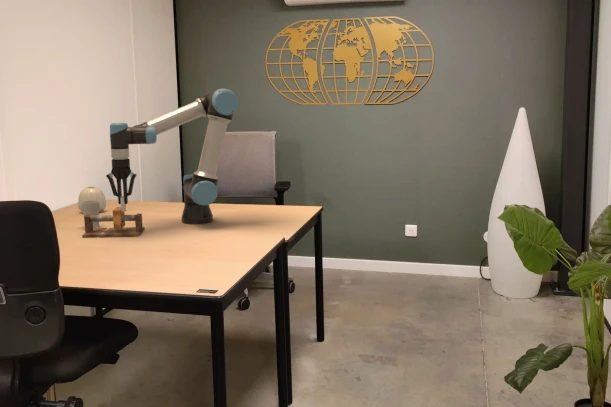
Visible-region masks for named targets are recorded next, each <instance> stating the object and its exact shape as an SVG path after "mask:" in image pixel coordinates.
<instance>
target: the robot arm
mask: <svg viewBox="0 0 611 407" xmlns="http://www.w3.org/2000/svg"><path fill="white" fill-rule="evenodd" d="M238 105H239V100H238V97H237V95H236V93H235V92H234V91H233V90H231V89H227V88H215V89H213V90H211V91H209V92H207V93H205V94H203V95H201V96H199V97H197V98H195V101H192V102H190V103H188V104H186V105H183V106H180V107H177V108H176V109H173V110H171V111H169V112H167V113H164V114H161V115H159V116H157V117H154V118H152V119H150V120H147V121H145V122H142V123H140V124H136V125H134V126H129V125H128V123H127V122H112V123H110V125H109V137H110V138H109V140H110V142H109V143H110V152H111V154H110V155H111V171H110V173H108V174H106V176H105V177H106V179H108V182H109V185H110V187H111V190H112V194H113V196H114V197H115V196H116V197H117V201H118V202H117V203H118V205H120V207H121V212H124V213H125V212H127V205H128V203H129V198H128V197H130V196H132V193H133V188H134V184H135V179H136V177H137V173H134V172H132V169H131V163H130V159H131V158H129V157H130V148H129V147H130V146H129V145H151V144H156V143H157V136H158V135H160V134H161V135H162V133H165V132H168V131H170V130H172V129H173V130H174V129H175V128H178V127H179V126H181V125H184V124H186V123H189V122H192V121H194V120H196V119H198V118H202V117H203V118H206V117H207V118H208V123H207V127H206V132H205V135H204V136H205V137H204V140H203V145H202V150H201V153H200V159H199V163H198V168H197V170H196V171H194V172H193V173H192V174H185V175H184V176H183V180H182V184H183V194H184V195H183V197H184V198H183V199H184V207H183V210H182V215H181V222H182V223H184V224H191V225H193V224H194V225H196V224H197V225H198V224H207V223H210V222H213V221H214V215H213V213H212V210H211V207H210V205H211V204H212V203H214V202H215V201H216V199H217V198H218V188H217V185H218V181H219V176H217V171H218V166H219V164H220V160H221V159H220V158H221V154H222V150H223V146H224V141H225V137H226V133H227V129H228V128H227V127H228V124H229V123H231V122H232V121H233V117H234V113H235V112H236V111H237V109H238V107H239V106H238ZM129 176H130V181H129V185H128V178H129ZM113 177H114V178H113ZM114 179H115V180H116V184H115V181H114ZM128 186H129V187H128ZM122 191H123V193H122Z"/></svg>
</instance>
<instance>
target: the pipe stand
mask: <svg viewBox="0 0 611 407" xmlns="http://www.w3.org/2000/svg"><path fill="white" fill-rule="evenodd" d="M142 214H143V213H136V214H125V215H121V219H122V221H125V222H134V223H135V225H134V226H131V227H128V226H127V227H126V226H124V227H123V228H122V229H114V227H98V228H93V222H99V223H100V222H102V223H103V222H104V223H105V222H106V223H107V222H113V214H111V215H110V214H105V215H104V214H103V215H101V214H99V215H93V216H92V215H86V216H85V217H84V216H83V220H84V221H83V222H84V231H85V232H84V233H83V234H82V238H83V239H85V238H86V239H89V238H91V239H92V238H93V239H95V238H97V237H99V238H131V237H132V238H133V237H134V238H135V237H139V236H140V235H142V234H143V232H144V231H145V230H146V228H145V226H144V225H143V215H142Z"/></svg>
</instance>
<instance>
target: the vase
mask: <svg viewBox="0 0 611 407" xmlns="http://www.w3.org/2000/svg"><path fill="white" fill-rule="evenodd" d="M91 200H96V201H99V213H101V212H103V211H104V209H106V208H107V200H106V196H105V193H104V191H103V190H101V189H100V188H99V187H97V186H87V187H84V188H83V189H81V191H80V192H79V194H78V201H77V206H78V209H79V210H80V211H81V212H82V213H83V209H82V204H81V202H83V201H91Z"/></svg>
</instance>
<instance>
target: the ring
mask: <svg viewBox="0 0 611 407" xmlns="http://www.w3.org/2000/svg"><path fill="white" fill-rule="evenodd" d="M112 215H113V221H112V222H113V228H114V229H122V228H123V227H126V221H122V219H121V215H126V214H125V212H121V206H117V207H115V208H114V209H113V210H112Z"/></svg>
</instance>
